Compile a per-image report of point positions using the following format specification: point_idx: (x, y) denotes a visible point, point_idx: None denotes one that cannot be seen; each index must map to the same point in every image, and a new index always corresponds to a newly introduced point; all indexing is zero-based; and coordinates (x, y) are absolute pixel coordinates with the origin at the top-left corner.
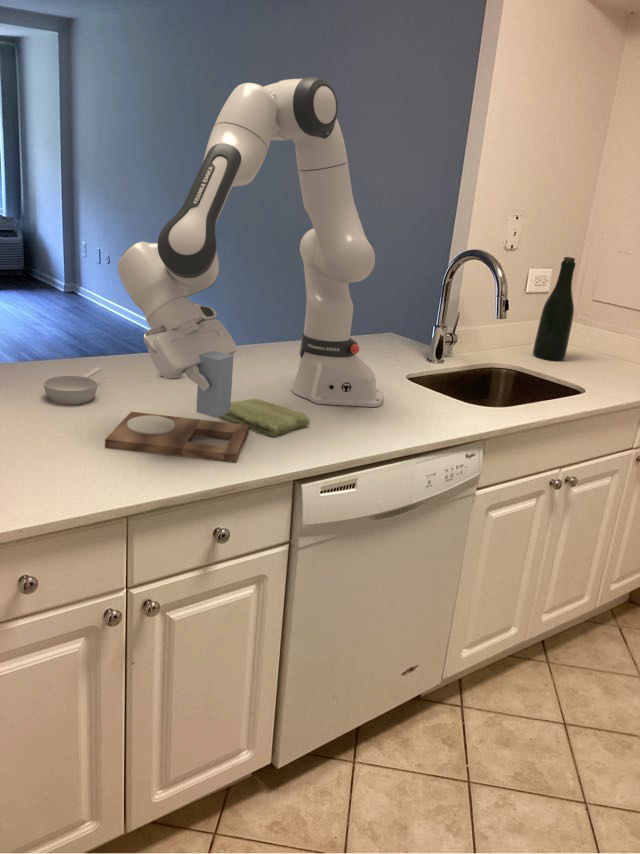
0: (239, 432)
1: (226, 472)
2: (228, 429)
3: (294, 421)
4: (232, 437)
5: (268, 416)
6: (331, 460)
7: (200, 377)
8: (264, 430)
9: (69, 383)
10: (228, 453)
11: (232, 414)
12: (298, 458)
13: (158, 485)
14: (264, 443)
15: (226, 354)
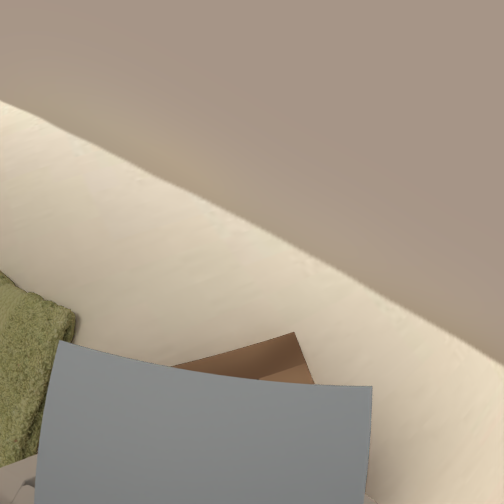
0: None
1: (350, 328)
2: None
3: (8, 285)
4: None
5: (9, 345)
6: (157, 181)
7: (370, 501)
8: None
9: None
10: (300, 351)
11: (20, 450)
12: (179, 231)
13: (470, 393)
14: (125, 328)
15: (59, 432)
